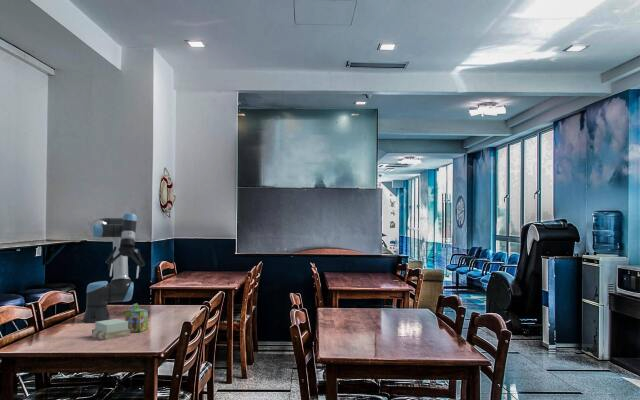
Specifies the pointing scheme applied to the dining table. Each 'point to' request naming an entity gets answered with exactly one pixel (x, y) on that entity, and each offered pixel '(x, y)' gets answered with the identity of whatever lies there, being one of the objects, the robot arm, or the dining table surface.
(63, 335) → the dining table surface
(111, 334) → the bottom block
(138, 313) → the chalk box
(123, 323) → the top block
